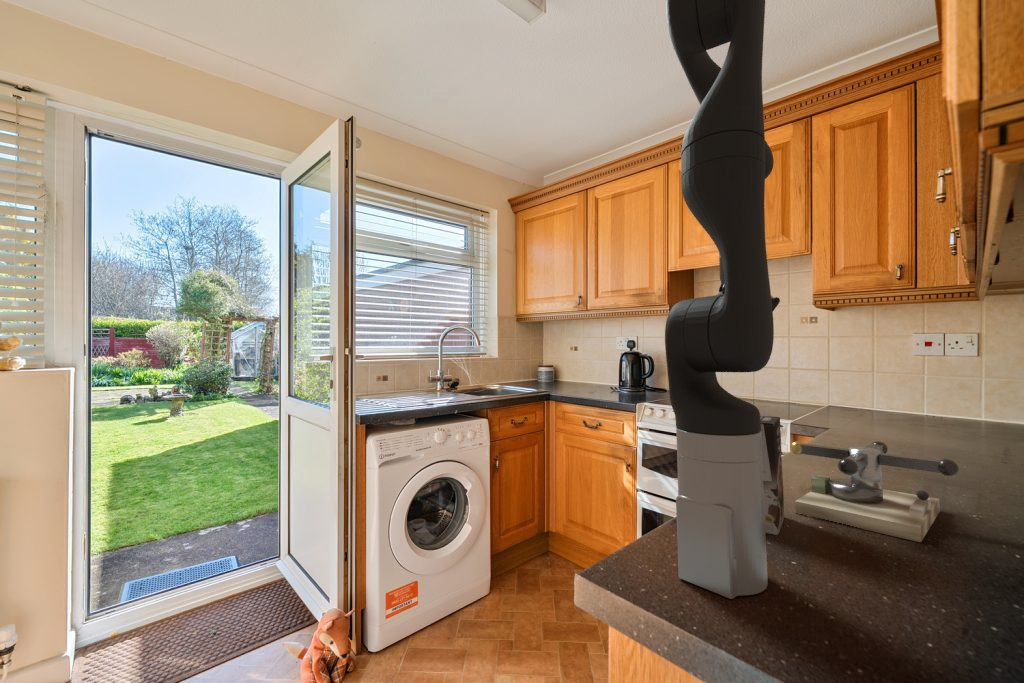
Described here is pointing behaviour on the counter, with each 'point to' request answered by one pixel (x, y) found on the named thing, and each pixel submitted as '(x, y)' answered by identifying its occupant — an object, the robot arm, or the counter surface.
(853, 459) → the capstan
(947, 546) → the counter surface
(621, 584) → the counter surface
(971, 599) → the counter surface
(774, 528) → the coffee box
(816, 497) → the stand
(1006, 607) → the counter surface
